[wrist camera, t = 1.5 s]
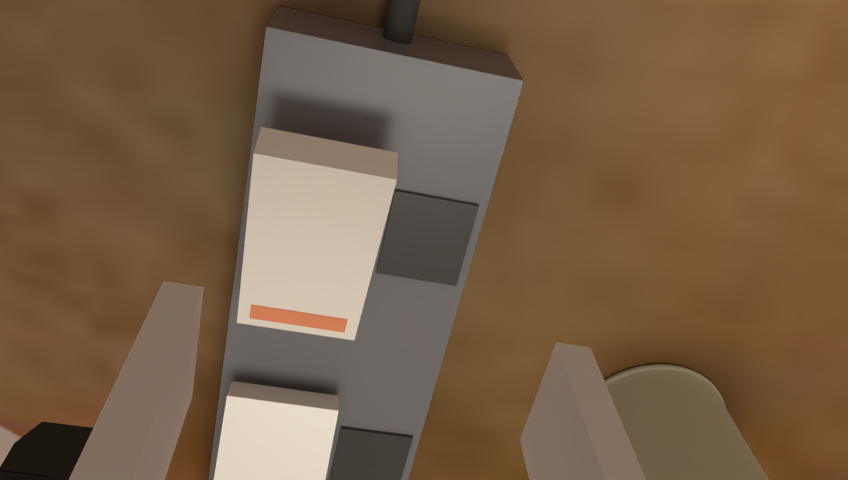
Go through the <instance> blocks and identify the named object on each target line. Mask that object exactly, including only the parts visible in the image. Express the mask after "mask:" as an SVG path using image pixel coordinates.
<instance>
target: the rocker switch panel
mask: <svg viewBox="0 0 848 480" xmlns="http://www.w3.org/2000/svg"><path fill="white" fill-rule="evenodd" d="M419 4H420V0H390V1H389V6H388V11H387V16H386V21H385V26H384V28H380V27H375V26H371V25H366V24H362V23H357V22H352V21H348V20H343V19H338V18H334V17H329V16H324V15H320V14H315V13H310V12H306V11H301V10H297V9H292V8H287V7H283V6H278V7H277V9H276V11H275V13H274V14H273V16H272V18H271V19H270V21H269V23H268V25H267V26H266V33H265V41H264V48H263V56H262V64H261V72H260V80H259V88H258V96H257V103H256V111H255V119H254V127H253V135H252V143H251V151H250V158H249V166H248V174H247V182H246V190H245V198H244V206H243V213H242V221H241V229H240V237H239V245H238V253H237V261H236V268H235V276H234V284H233V292H232V300H231V308H230V315H229V323H228V331H227V339H226V347H225V355H224V363H223V370H222V378H221V386H220V394H219V402H218V410H217V418H216V425H215V433H214V441H213V449H212V457H211V465H210V473H209V480H214V474H215V468H216V462H217V455H218V449H219V443H220V436H221V430H222V424H223V417H224V411H225V405H226V398H227V394H228V391H229V388H230V385H231V382H232V381H236V382H243V383H251V384H258V385H265V386H272V387H279V388H287V389H294V390H301V391H308V392H316V393H323V394H330V395H337V396H339V411H338V417H337V422H336V427H335V432H334V438H333V443H332V448H331V453H330V458H329V464H328V469H327V474H326V479H325V480H408V478H409V474H410V471H411V467H412V464H413V461H414V457H415V454H416V450H417V447H418V443H419V440H420V436H421V433H422V430H423V426H424V423H425V419H426V416H427V412H428V409H429V406H430V402H431V399H432V395H433V392H434V388H435V385H436V381H437V378H438V375H439V371H440V368H441V364H442V361H443V357H444V354H445V351H446V347H447V344H448V340H449V337H450V333H451V330H452V326H453V323H454V320H455V316H456V313H457V309H458V306H459V302H460V299H461V295H462V292H463V289H464V285H465V282H466V278H467V275H468V271H469V268H470V265H471V261H472V258H473V254H474V251H475V247H476V244H477V240H478V237H479V234H480V230H481V227H482V223H483V220H484V216H485V213H486V209H487V206H488V203H489V199H490V196H491V192H492V189H493V185H494V182H495V179H496V175H497V172H498V168H499V165H500V161H501V158H502V154H503V151H504V148H505V144H506V141H507V137H508V134H509V130H510V127H511V124H512V120H513V117H514V113H515V110H516V106H517V103H518V99H519V96H520V93H521V89H522V86H523V82H524V80H523V79H522V77H521V75H520V74H519V72H518V71H517V69H516V67H515V66H514V64H513V62H512V61H511V59H510V57H509V56H508V55H506V54H501V53H496V52H492V51H487V50H482V49H478V48H473V47H468V46H464V45H459V44H454V43H450V42H445V41H441V40H436V39H431V38H427V37H422V36H417V35H413V32H414V27H415V22H416V18H417V13H418V8H419ZM261 127H265V128H270V129H276V130H281V131H286V132H292V133H297V134H302V135H307V136H313V137H318V138H323V139H328V140H334V141H339V142H344V143H349V144H355V145H360V146H365V147H370V148H376V149H381V150H386V151H391V152H397V153H398V168H397V181H396V185H395V189H394V193H393V197H392V200H391V204H390V208H389V212H388V215H387V219H386V223H385V227H384V231H383V234H382V238H381V242H380V246H379V249H378V253H377V257H376V261H375V264H374V268H373V272H372V276H371V280H370V283H369V287H368V291H367V295H366V298H365V302H364V306H363V310H362V314H361V317H360V321H359V325H358V329H357V332H356V336H355V340H348V339H341V338H334V337H328V336H321V335H314V334H308V333H301V332H294V331H288V330H281V329H274V328H268V327H261V326H254V325H248V324H241V323H237V316H238V305H239V295H240V285H241V275H242V265H243V255H244V244H245V234H246V224H247V214H248V204H249V194H250V184H251V173H252V163H253V153H254V150H255V146H256V143H257V139H258V136H259V132H260V129H261Z"/></svg>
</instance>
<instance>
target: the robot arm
mask: <svg viewBox="0 0 848 480" xmlns="http://www.w3.org/2000/svg"><path fill="white" fill-rule="evenodd" d="M203 290H204V287H200V286H193V285H187V284H181V283H174V282H168V281H163V283H162V285H161V288H160V290H159V292H158V294H157V296H156V298H155V300H154V302H153V304H152V306H151V309H150V311H149V313H148V315H147V317H146V319H145V321H144V323H143V325H142V327H141V329H140V332H139V334H138V336H137V338H136V340H135V342H134V344H133V346H132V348H131V350H130V352H129V355H128V357H127V359H126V361H125V363H124V365H123V367H122V369H121V371H120V373H119V375H118V378H117V380H116V382H115V384H114V386H113V388H112V390H111V392H110V394H109V396H108V398H107V401H106V403H105V405H104V407H103V409H102V411H101V413H100V415H99V417H98V419H97V421H96V424H95V426H94V428H89V427H81V426H73V425H65V424H57V423H49V422H41V423H40V424H39V425H37V426H36V427H35V428H33V429H32V430H31V431H30V432H28V433H27V434H26V435H24V436H23V437H22V438H21V439H19V440H18V441H17V442H16V443H14V445H13V447H12V448H11V450H10V452H9V453H8V455H7V457H6V458H5V460H4V462H3V463H2V465H1V467H0V480H165V477H166V474H167V471H168V468H169V465H170V462H171V459H172V456H173V453H174V450H175V447H176V444H177V441H178V438H179V434H180V431H181V428H182V425H183V422H184V419H185V416H186V413H187V410H188V407H189V404H190V401H191V398H192V393H193V383H194V374H195V365H196V355H197V346H198V337H199V327H200V318H201V309H202V299H203ZM520 443H521V447H522V451H523V455H524V459H525V463H526V468H527V472H528V476H529V480H646V478H645V476H644V474H643V471H642V469H641V467H640V464H639V462H638V460H637V457H636V455H635V452H634V450H633V448H632V445H631V443H630V441H629V438H628V436H627V433H626V431H625V429H624V426H623V424H622V422H621V419H620V417H619V415H618V412H617V410H616V407H615V405H614V403H613V400H612V398H611V396H610V393H609V391H608V388H607V386H606V384H605V381H604V379H603V377H602V374H601V372H600V369H599V367H598V365H597V362H596V360H595V358H594V355H593V353H592V351H591V348H590V347H584V346H577V345H571V344H565V343H558V342H556V344H555V346H554V349H553V352H552V355H551V357H550V360H549V363H548V365H547V368H546V371H545V373H544V376H543V379H542V382H541V384H540V387H539V390H538V392H537V395H536V398H535V400H534V403H533V406H532V409H531V411H530V414H529V417H528V419H527V422H526V425H525V427H524V430H523V433H522V435H521V438H520Z"/></svg>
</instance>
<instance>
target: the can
mask: <svg viewBox="0 0 848 480" xmlns="http://www.w3.org/2000/svg"><path fill="white" fill-rule="evenodd" d="M604 381H605V384H606V386H607V388H608V391H609V393H610V396H611V398H612V400H613V403H614V405H615V407H616V410H617V412H618V415H619V417H620V419H621V422H622V424H623V426H624V429H625V431H626V433H627V436H628V438H629V441H630V443H631V445H632V448H633V450H634V452H635V455H636V457H637V460H638V462H639V464H640V467H641V469H642V471H643V474H644V476H645V478H646V480H769V479H768V477H767V476H766V474H765V472H764V471H763V469H762V467H761V466H760V464H759V463H758V461H757V459H756V458H755V456H754V455H753V453H752V451H751V450H750V448H749V446H748V445H747V443H746V441H745V440H744V438H743V436H742V435H741V433H740V431H739V430H738V428H737V426H736V425H735V423H734V421H733V420H732V418H731V416H730V414H729V413H728V411H727V409H726V407H725V404H724V401H723V398H722V396H721V394H720V393H719V391H718V390H717V388H716V387H715V386H714V385H713V384H712V383H711V382H710V381H709V380H708V379H707V378H705V377H704V376H703V375H701V374H699V373H697V372H695V371H693V370H691V369H688V368H685V367H681V366H677V365H669V364H652V365H644V366H638V367H634V368H630V369H627V370H624V371H622V372H619V373H617V374H615V375H612V376H610V377H609V378H607V379H605V380H604Z"/></svg>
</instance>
